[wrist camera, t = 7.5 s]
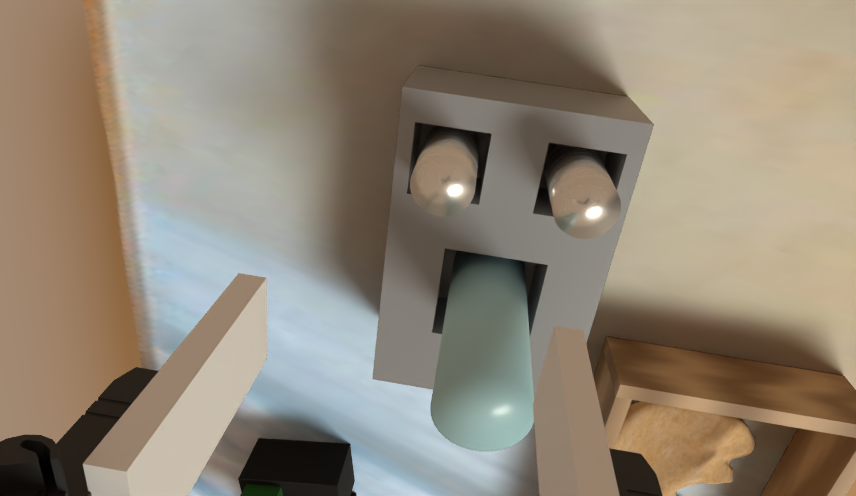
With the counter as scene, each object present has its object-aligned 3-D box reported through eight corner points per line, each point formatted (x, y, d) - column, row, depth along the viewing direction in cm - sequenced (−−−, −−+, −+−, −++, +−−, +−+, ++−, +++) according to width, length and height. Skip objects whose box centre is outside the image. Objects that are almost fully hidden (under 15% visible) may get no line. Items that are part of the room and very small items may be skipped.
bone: (535, 521, 46) (619, 384, 40) (607, 480, 53) (691, 356, 46) (639, 649, 40) (762, 513, 33) (707, 586, 46) (822, 460, 39)
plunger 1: (483, 125, 31) (480, 160, 26) (474, 177, 32) (469, 221, 27) (428, 116, 31) (413, 149, 26) (421, 169, 33) (406, 210, 27)
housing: (628, 96, 33) (654, 124, 27) (556, 352, 41) (565, 412, 36) (417, 65, 33) (402, 86, 28) (388, 324, 41) (372, 379, 36)
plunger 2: (606, 143, 31) (629, 183, 26) (592, 195, 32) (610, 243, 27) (550, 135, 31) (561, 172, 26) (538, 187, 32) (546, 233, 27)
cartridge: (530, 240, 35) (545, 381, 24) (517, 301, 37) (523, 459, 26) (458, 229, 35) (437, 363, 24) (448, 290, 37) (424, 441, 26)
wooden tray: (844, 376, 39) (888, 429, 35) (735, 563, 48) (759, 624, 44) (606, 336, 40) (620, 384, 35) (544, 528, 49) (548, 585, 45)
